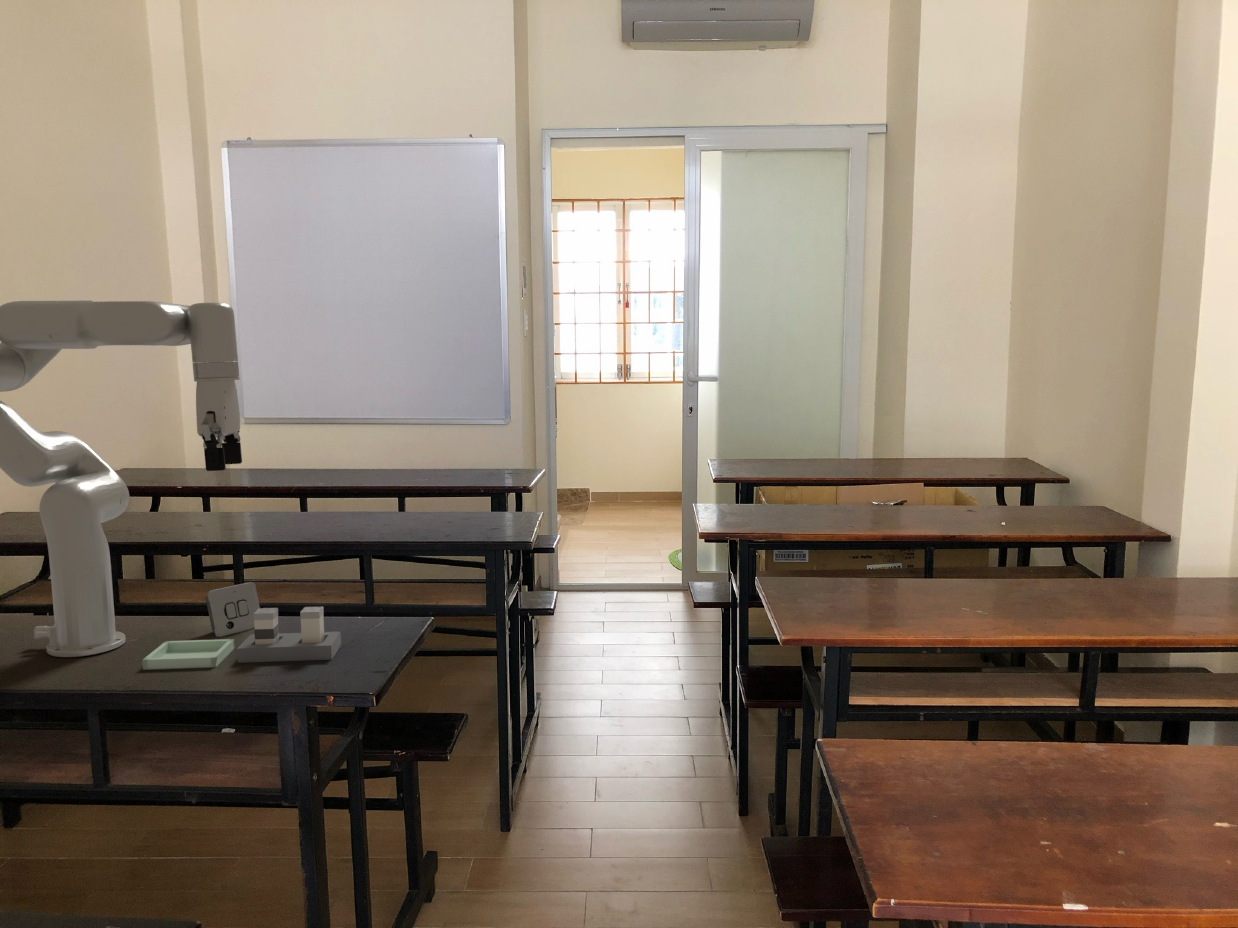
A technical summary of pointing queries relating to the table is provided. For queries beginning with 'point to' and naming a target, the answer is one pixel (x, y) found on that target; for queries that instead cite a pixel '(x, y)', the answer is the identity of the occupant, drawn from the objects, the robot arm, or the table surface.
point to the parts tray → (189, 654)
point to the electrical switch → (232, 608)
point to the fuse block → (289, 649)
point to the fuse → (312, 624)
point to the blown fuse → (266, 626)
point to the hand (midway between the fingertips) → (224, 467)
